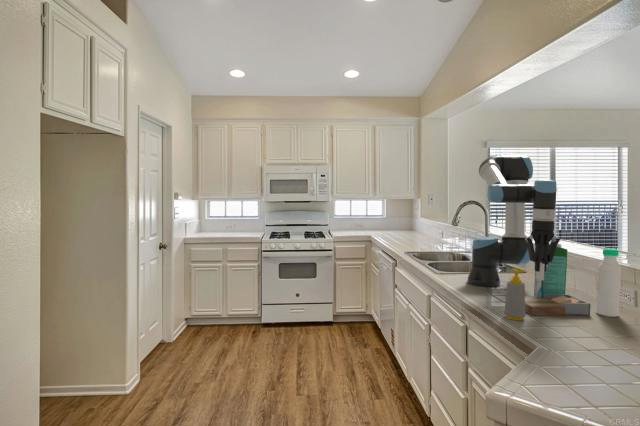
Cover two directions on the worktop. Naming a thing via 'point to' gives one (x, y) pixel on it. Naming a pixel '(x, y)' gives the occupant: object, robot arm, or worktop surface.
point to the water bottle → (609, 284)
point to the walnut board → (543, 307)
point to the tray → (572, 305)
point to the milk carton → (553, 275)
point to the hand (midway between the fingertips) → (539, 279)
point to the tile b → (574, 300)
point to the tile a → (561, 300)
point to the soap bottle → (515, 298)
